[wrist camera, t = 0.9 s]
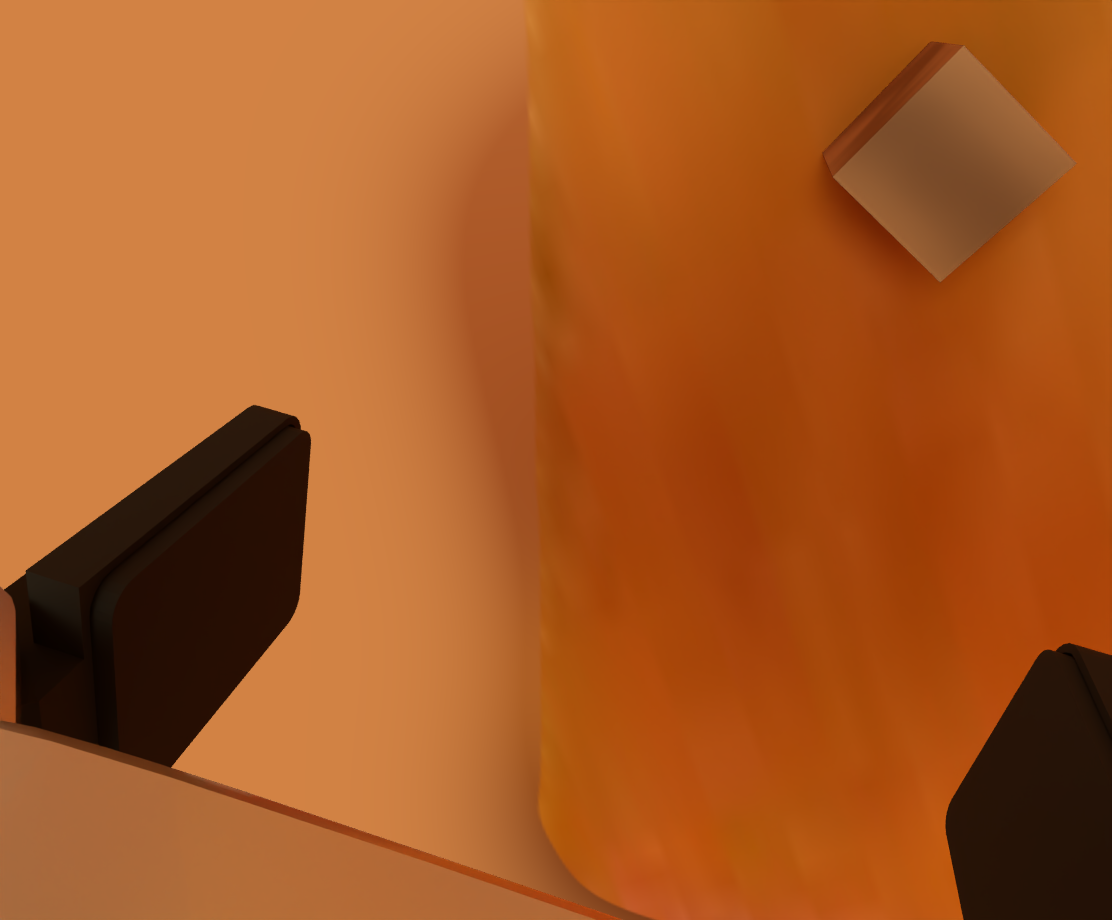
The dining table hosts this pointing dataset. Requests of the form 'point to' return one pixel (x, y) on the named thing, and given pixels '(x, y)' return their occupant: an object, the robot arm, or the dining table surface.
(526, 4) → the dining table surface
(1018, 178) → the walnut block
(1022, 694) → the robot arm
